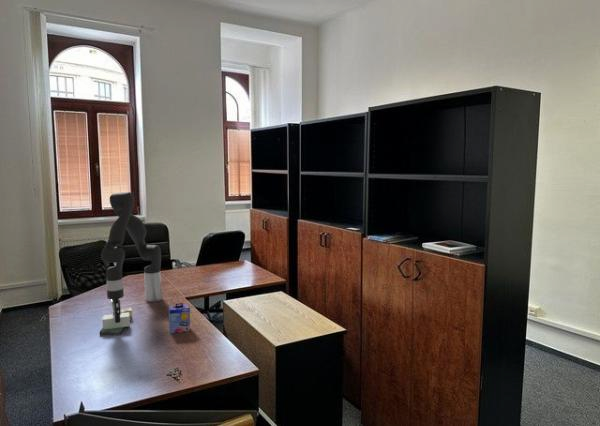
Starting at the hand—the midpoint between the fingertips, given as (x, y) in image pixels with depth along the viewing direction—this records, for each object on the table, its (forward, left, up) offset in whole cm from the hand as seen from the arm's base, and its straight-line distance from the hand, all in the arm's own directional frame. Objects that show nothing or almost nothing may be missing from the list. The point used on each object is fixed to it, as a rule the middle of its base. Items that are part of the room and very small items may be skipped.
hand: (116, 319), depth 210 cm
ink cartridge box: (-27, +16, -5) cm, 32 cm away
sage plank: (0, 0, -3) cm, 3 cm away
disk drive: (+1, -1, -6) cm, 6 cm away
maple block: (-6, -13, -5) cm, 15 cm away
